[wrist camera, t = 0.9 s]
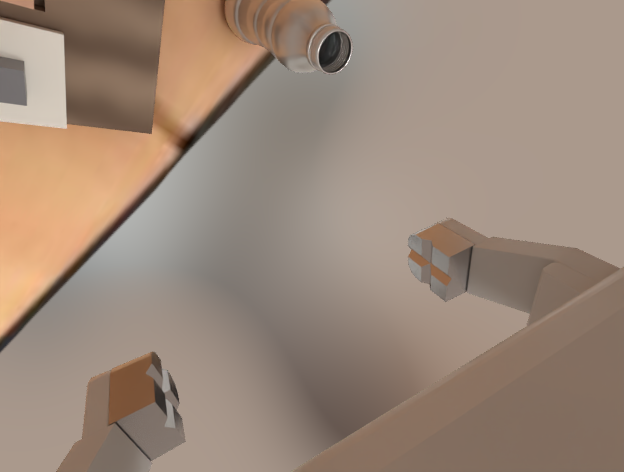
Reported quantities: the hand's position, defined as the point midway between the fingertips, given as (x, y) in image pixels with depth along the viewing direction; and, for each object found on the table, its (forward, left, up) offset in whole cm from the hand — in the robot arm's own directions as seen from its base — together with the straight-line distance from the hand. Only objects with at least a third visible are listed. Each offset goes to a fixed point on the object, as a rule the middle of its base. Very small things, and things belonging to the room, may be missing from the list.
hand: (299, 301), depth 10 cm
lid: (+6, -9, -38) cm, 39 cm away
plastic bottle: (-5, +14, -42) cm, 44 cm away
